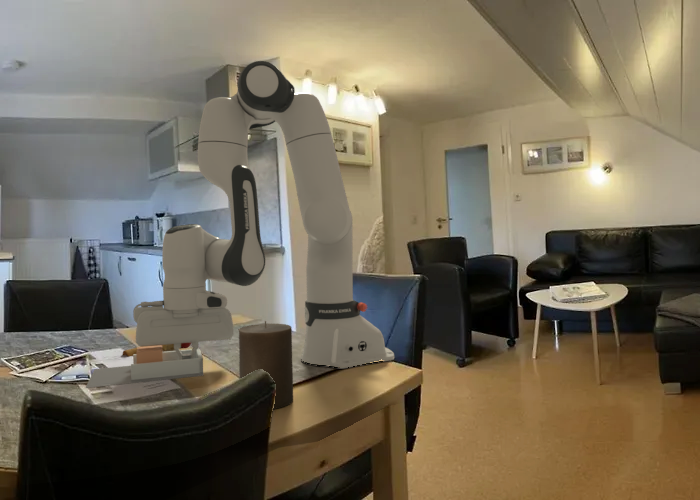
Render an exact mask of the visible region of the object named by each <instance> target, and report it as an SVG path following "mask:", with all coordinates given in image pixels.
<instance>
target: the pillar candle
mask: <svg viewBox="0 0 700 500" xmlns="http://www.w3.org/2000/svg"><path fill="white" fill-rule="evenodd" d="M237 329H238V343H239V345H238V347H239V349H238V350H239V354H238V356H239V360H238V361H239V365H238V367H239V368H238V369H239V379H240V378H242V377H244V376H246V375H247V374H249V373H251V372H253V371H255V370H258V369H263V370H264V371H266V372H268V373H269V374H270V376H271V377H272V378H273V380H274V381H275V384H276V396H275V404H274V409H273V410H275V409H280V408H283V407H286V406H289V405H291V404H292V403H293V401H294V378H293V377H294V375H293V371H294V370H293V342H292V341H293V334H292V333H293V332H292V329H293V328H292V326H291V325H290V324H285V323H267V321H266V320H264V323H258V324H251V325H246V326H245V325H244V326H243V327H239V328H237Z"/></svg>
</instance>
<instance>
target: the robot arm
mask: <svg viewBox="0 0 700 500" xmlns="http://www.w3.org/2000/svg"><path fill="white" fill-rule="evenodd" d="M236 91H237V92H236V94H234V95H233V96H228V97H225V96H219V97H214V98H211V99H209V100H208V101H207V102H206V103H205V105H204V108H203V109H202V115H201V118H200V123H199V124H200V125H199V132H198V141H197V164H198V169H199V171H200V173H201V175H202V176H203V177H204V178H205V179H206V180H207V181H208V182H210V183H211V184H213V185H214V186H216V187H218V188H220V189H221V190H222V191H223V192H224V193H225V194H226V196H227V198H228V200H229V207H230V208H229V209H230V220H231V221H230V223H231V224H230V225H231V237H230V239H225V238H220V237H217V236H214V235H213V234H212V233H209V232H207V231H206V229H203V227H202V225H200V224H198V223H190V224H189V223H187V224H182V225H181V224H180V225H177V226H176V225H175V226H172V227H170V228H169V229H167V230H166V232H165V234H164V235H163V236H164V237H163V242H162V251H161V252H162V255H161V258H162V262H161V263H162V270H163V273H164V279H163V284H162V292H163V293H162V295H163V299H162V300H153V301H142V302H140V303H139V304H137V305H135V307H134V308H133V314H132V315H133V321H135V323H136V329H135V331H136V332H135V344H136V345H137V346H138V347H140V346H154V345H166V344H174V349H173V351H176V353H177V354H178V356H179V360H183V359H194V354H195V352H196V351H197V349H199V343H201V342H202V343H203V342H212V341H214V342H215V341H224V340H225V341H226V340H231V339H232V338H233V337H234V335H235V330H234V322H233V317H232V313H231V311H230V309H229V308H228V307H227V306H228V299H227V297H226V296H225V295H224V294H222V293H219V292H218V293H217V292H215V291H211V290H207V283H206V281H209V280H210V281H216V282H220V283H221V282H222V283H230V284H234V285H237V286H240V287H241V286H242V287H247V286H251V285H252V284H254V283H256V282H257V281H258V280H259V279H260V277H261V276H262V275H263V273H264V270H265V267H266V254H265V250H264V247H263V246H264V245H263V242H262V236H261V229H260V215H259V202H258V191H257V183H256V178H255V175H254V173H253V172H252V170H251V169H250V166H249V157H248V145H249V142H248V141H249V139H248V138H249V131H250V130H252V129H253V130H254V129H256V128H262V127H268V126H270V125H271V124H274V123H277V124H278V126H279V127H280V129H281V131H282V133H283V137H284V143H285V145H286V150H287V153H288V154H287V155H288V158H289V161H290V166H291V170H292V173H293V179H294V184H295V188H296V194H297V199H298V206H299V210H300V216H301V219H302V224H303V227H304V230H305V232H306V234H307V236H308V237H307V254H306V255H307V256H306V267H305V268H306V271H305V272H306V300H305V301H304V302H305V303H304V323H305V325H306V326H305V337H304V345H303V350H302V352H301V353H302V354H301V357H300V360H301V359H302V360H303V361H305V362H308V363H312V364H320V365H330V366H335V367H340V368H339V369H348V367H349V368H354V367H353V366H355V367H358V366H357V365H360V366H363V365H362V364H365V363H370V362H374V361H379V360H381V359H382V360H385V361H384V362H388V361H393V360H394V359H395V353H394V352H393V351H392V350H391V349H389V347H386V346H385V339H384V335H383V333H382V331H381V330H380V329H379V328H378V327H376V326H375V325H374V324H373V323H371V322H370V321H369V320H367V319H366V318H365V317H364V316H362V315H361V312H363V313H364V312H366V311H367V309H368V305H367V304H366V303H365V302H362V301H361V302H358V301H357V300H355V299H354V298H353V297H354V295H353V293H354V289H353V288H354V287H353V285H354V283H353V281H354V280H353V278H354V277H353V275H354V274H353V248H354V247H353V214H352V211H351V209H350V205H349V202H348V197H347V193H346V189H345V185H344V181H343V180H344V179H343V176H342V172H341V168H340V163H339V159H338V156H337V151H336V148H335V143H334V139H333V135H332V131H331V127H330V125H329V121H328V118H327V116H326V113H325V110H324V108H323V106H322V104H321V102H320V100H319V98H318V97H317V96H316V95H314V94H312V93H310V92H295V91H296V90H295V86H294V85H293V84H292V83H291V81H290V80H288V78H287V77H286V76H285V75H284V74H283V72H282V71H281V69H279V68H278V67H277V66H276V65H274V64H273V63H271V62H269V61H265V60H257V61H256V60H255V61H253V62H251V63H249V64H248V65H246V66H245V67H244V68H243V69H242V71H241V72H240V74H239V76H238V79H237V89H236ZM181 343H191V347H192V348H191V349H192V350H191V352H190V353H188V354H182V352H181V351H180V349H179V348H181ZM181 349H182V348H181ZM302 360H301V361H302ZM303 361H302V362H303ZM305 362H304V363H305Z"/></svg>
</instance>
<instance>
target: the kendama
mask: <svg viewBox="0 0 700 500" xmlns="http://www.w3.org/2000/svg"><path fill="white" fill-rule="evenodd" d="M154 346H158V345H154ZM191 346H192V343H181V348H179V349H181V350H182V349H188V348H189V347H191ZM139 347H146V346H139ZM171 350H174V344H166V345H162V352H166V351H171ZM136 352H137V347H134V348H133V347H132V348H129V349H125V350H123V352H122V356H127V357H133V354H136Z"/></svg>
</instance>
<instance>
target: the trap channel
mask: <svg viewBox="0 0 700 500" xmlns="http://www.w3.org/2000/svg"><path fill="white" fill-rule="evenodd" d="M192 349H193V348H191V349H181V350H180V351H181V352H182V354H188V353H190V352H191V350H192ZM162 352H163V361H162V362H151V363H140V364H137V356H136V354H133V356H132V358H133V362H132V363H133V364H132V363H131V364H130V365H126V366H124V365H123V366H111V367H101V368H94V370H93V372H92V374H91V376H90V378H89V380H88V382H87V384H86V386H85V389H89V388H98V387H110V386H119V385H129V384H136V383H146V382H159V381H166V380H176V379H185V378H195V377H203V376H205V375H204V358H203V355H202V352H201V348H198V349H197V351H196V352H195V354H194V359H183V360H179V356H178V354H177V353H176V351H175V350H166V351H162Z"/></svg>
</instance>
